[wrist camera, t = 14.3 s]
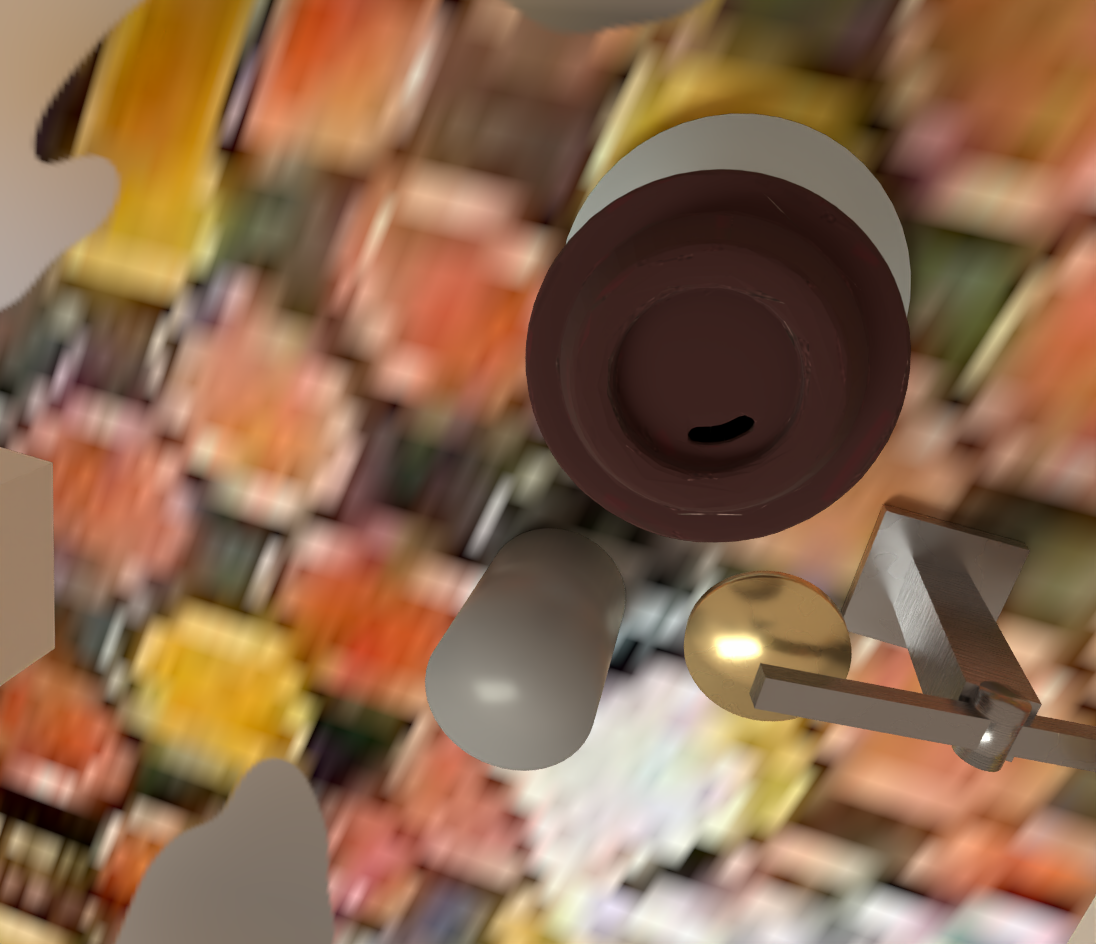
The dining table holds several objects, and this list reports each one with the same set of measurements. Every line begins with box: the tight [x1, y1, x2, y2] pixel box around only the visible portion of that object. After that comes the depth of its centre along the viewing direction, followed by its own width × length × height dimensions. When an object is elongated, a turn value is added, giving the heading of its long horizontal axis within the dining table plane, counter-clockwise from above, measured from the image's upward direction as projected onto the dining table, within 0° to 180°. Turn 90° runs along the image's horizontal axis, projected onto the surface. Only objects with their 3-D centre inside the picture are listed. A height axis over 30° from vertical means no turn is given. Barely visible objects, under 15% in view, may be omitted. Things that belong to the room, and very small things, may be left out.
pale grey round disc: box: [566, 114, 911, 316], centre depth 35 cm, size 14×14×1 cm
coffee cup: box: [526, 169, 911, 542], centre depth 28 cm, size 10×10×15 cm
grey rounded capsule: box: [425, 528, 626, 771], centre depth 38 cm, size 7×7×9 cm
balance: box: [684, 504, 1096, 772], centre depth 32 cm, size 21×6×13 cm, turn 78°
